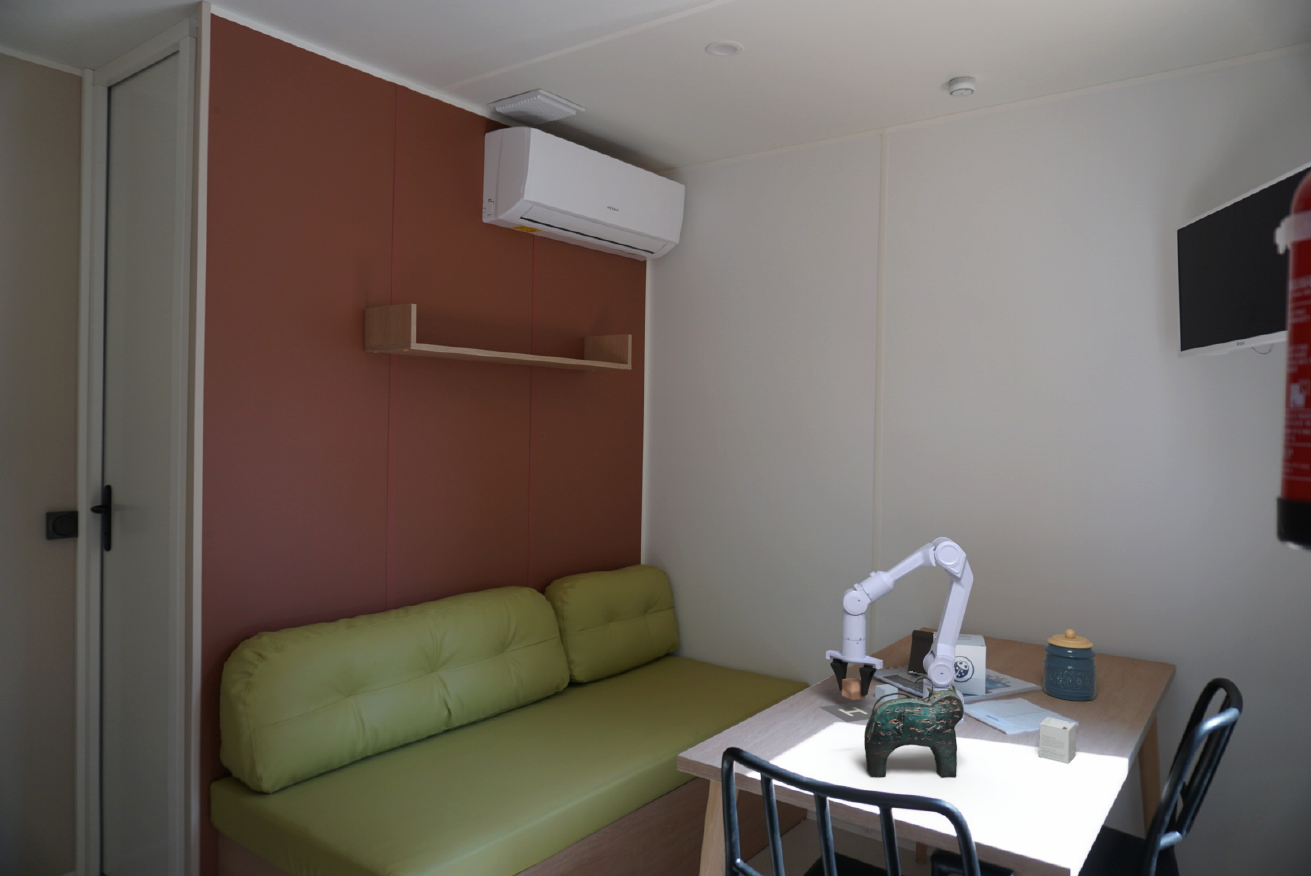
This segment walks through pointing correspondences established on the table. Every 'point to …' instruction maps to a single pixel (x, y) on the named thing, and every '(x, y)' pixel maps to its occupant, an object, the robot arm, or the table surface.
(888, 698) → the pale blue cube
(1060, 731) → the skincare box
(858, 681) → the terracotta block
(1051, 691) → the canister
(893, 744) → the green animal figurine
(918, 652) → the phone stand
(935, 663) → the robot arm
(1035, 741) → the table surface
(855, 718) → the board
